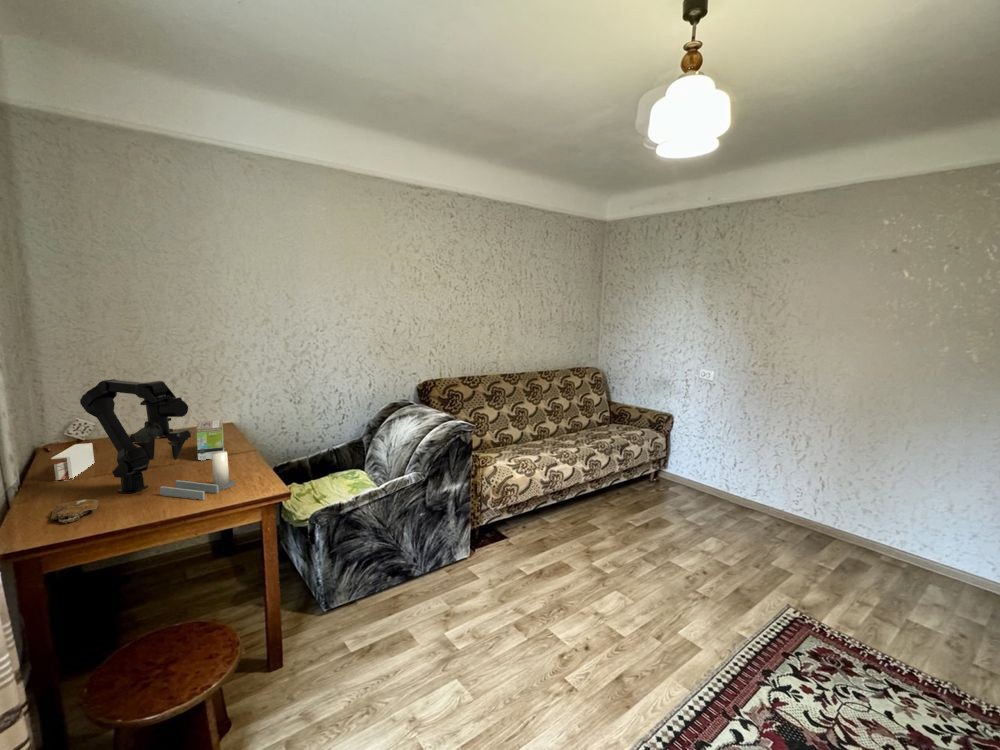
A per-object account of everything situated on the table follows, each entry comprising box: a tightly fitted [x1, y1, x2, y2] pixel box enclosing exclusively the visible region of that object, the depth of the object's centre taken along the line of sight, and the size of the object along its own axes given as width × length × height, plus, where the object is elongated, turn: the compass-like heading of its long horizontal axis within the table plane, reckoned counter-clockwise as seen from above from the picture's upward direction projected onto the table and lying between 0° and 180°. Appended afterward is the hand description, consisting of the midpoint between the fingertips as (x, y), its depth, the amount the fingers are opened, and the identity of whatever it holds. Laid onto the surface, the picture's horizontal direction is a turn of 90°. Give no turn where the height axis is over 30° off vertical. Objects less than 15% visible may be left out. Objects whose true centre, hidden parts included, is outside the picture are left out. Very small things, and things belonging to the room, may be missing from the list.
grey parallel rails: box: [159, 479, 220, 501], centre depth 160 cm, size 18×7×3 cm, turn 79°
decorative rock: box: [50, 499, 100, 524], centre depth 143 cm, size 11×4×15 cm
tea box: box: [195, 419, 225, 461], centre depth 202 cm, size 15×10×15 cm
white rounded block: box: [211, 450, 230, 487], centre depth 167 cm, size 5×5×12 cm
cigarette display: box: [50, 442, 95, 480], centre depth 177 cm, size 20×6×9 cm, turn 23°
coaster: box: [211, 479, 237, 491], centre depth 168 cm, size 9×9×1 cm
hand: (163, 459), depth 159 cm, fingers open, 9 cm apart
